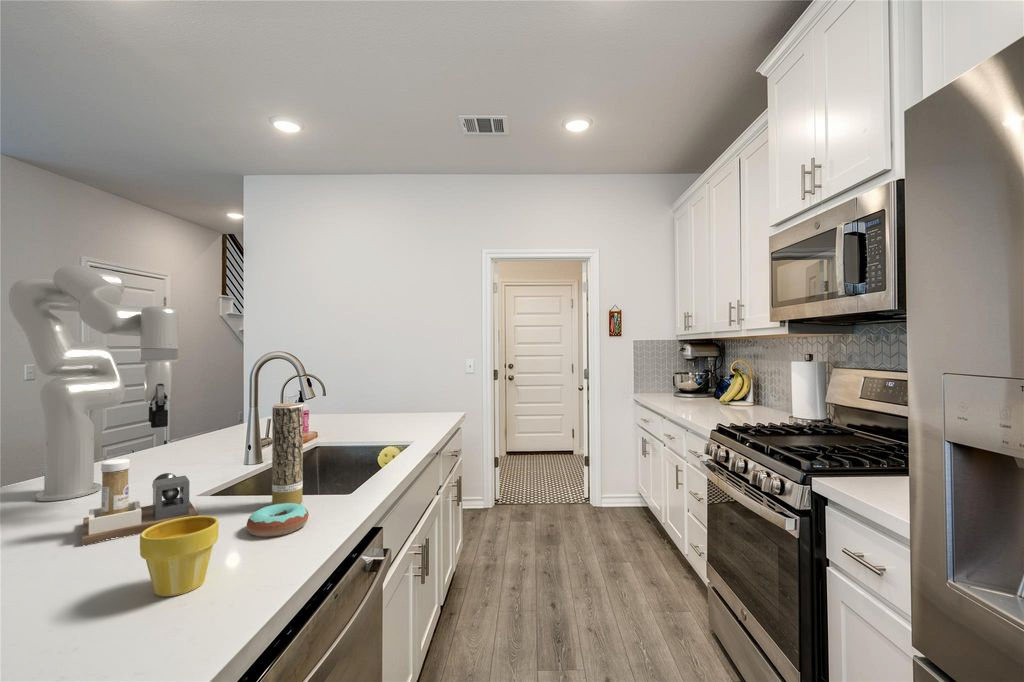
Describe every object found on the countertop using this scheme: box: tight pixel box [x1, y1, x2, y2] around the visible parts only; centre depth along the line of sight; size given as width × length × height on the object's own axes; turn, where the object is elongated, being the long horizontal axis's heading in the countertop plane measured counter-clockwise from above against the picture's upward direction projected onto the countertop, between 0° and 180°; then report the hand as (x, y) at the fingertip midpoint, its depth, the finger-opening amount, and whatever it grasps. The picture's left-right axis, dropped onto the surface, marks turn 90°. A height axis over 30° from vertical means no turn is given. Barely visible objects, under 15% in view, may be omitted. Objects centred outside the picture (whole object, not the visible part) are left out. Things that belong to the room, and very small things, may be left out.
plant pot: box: [139, 515, 220, 598], centre depth 74 cm, size 10×10×10 cm
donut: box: [246, 503, 309, 538], centre depth 98 cm, size 12×12×4 cm
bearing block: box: [152, 475, 190, 521], centre depth 102 cm, size 6×6×8 cm
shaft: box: [152, 472, 180, 501], centre depth 106 cm, size 11×5×5 cm, turn 43°
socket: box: [88, 500, 142, 535], centre depth 96 cm, size 8×8×3 cm
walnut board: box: [81, 500, 199, 547], centre depth 101 cm, size 15×19×2 cm
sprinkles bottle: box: [100, 458, 131, 516], centre depth 97 cm, size 5×5×13 cm
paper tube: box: [271, 402, 304, 505], centre depth 112 cm, size 7×7×25 cm
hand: (157, 424), depth 112 cm, fingers open, 9 cm apart
